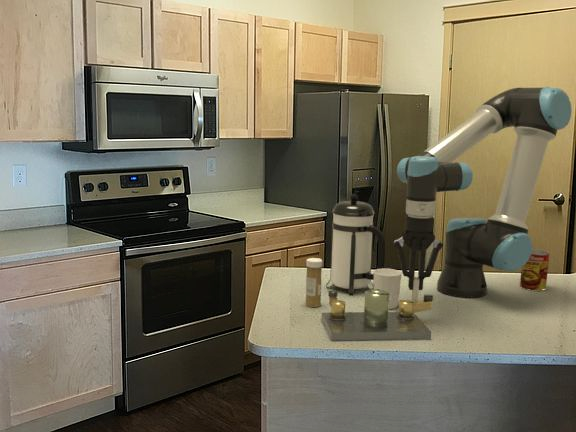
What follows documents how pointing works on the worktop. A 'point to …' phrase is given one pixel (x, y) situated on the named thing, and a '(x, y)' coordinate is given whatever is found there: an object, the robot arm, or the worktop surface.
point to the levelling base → (374, 332)
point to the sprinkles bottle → (313, 282)
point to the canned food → (535, 270)
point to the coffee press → (354, 245)
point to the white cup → (388, 284)
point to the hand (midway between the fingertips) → (414, 301)
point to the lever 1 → (336, 306)
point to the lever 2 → (414, 306)
